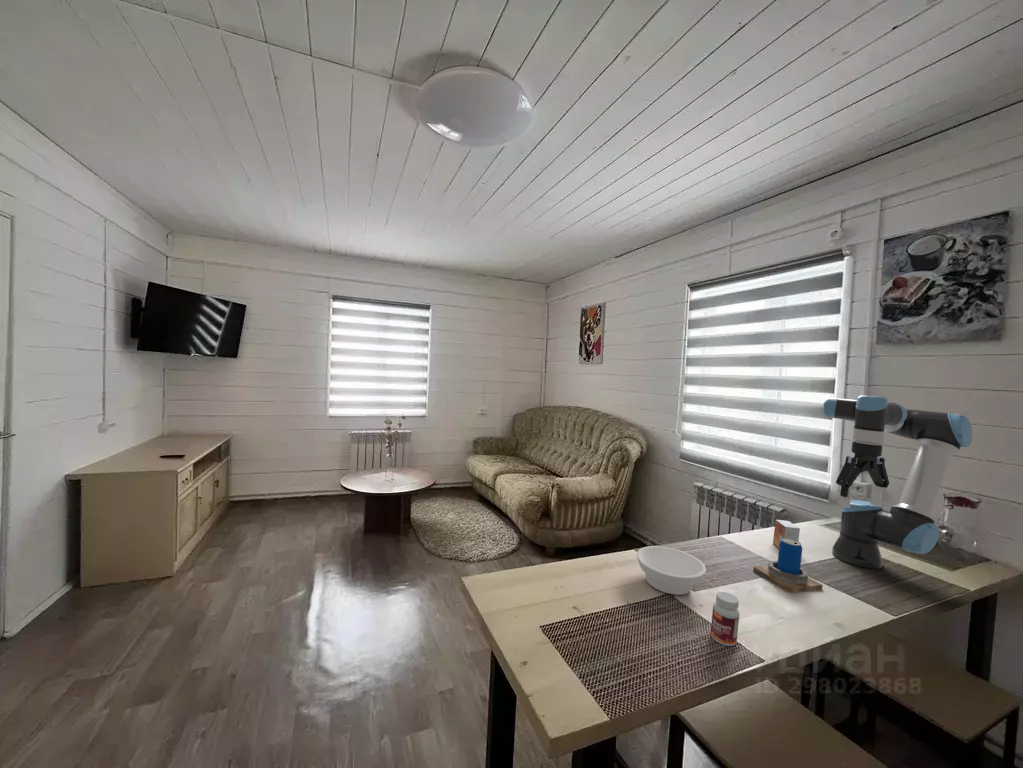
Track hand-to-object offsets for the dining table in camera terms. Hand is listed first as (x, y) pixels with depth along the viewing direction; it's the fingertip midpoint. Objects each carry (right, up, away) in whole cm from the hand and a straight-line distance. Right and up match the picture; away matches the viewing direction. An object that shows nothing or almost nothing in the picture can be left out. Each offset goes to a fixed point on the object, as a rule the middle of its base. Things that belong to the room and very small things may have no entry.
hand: (860, 506), depth 135 cm
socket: (-21, -27, +6) cm, 35 cm away
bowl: (-65, -25, -3) cm, 69 cm away
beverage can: (-20, -26, +6) cm, 33 cm away
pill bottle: (-60, -26, -28) cm, 72 cm away
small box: (-4, -27, +32) cm, 42 cm away
